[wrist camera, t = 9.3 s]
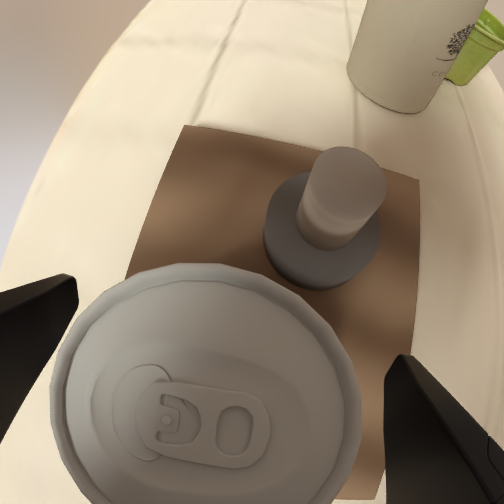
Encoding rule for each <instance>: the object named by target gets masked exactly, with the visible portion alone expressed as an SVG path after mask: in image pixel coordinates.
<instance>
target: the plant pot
mask: <svg viewBox="0 0 504 504" xmlns="http://www.w3.org/2000/svg"><path fill="white" fill-rule="evenodd" d="M503 49H504V25H503V24H502V22H501V21H500V20H499V19H497V18H496V17H495V16H494V15H493V14H492V13H490V12H489V11H488V10H487V9H485V8H484V9H483V11H482V13H481V15H480V16H479V18H478V20H477V22H476V24H475V26H474V27H473V29H472V31H471V33H470V35H469V36H468V38H467V40H466V42H465V44H464V45H463V47H462V49H461V50H460V52H459V54H458V56H457V57H456V59H455V61H454V62H453V64H452V66H451V68H450V69H449V71H448V73H447V74H446V76H445V78H447V79H449V80H451V81H452V82H453V83H454V84H456V85H466V84H467V83H468V82H469V81H470V80H471V79H472V78H473V77H474V76H475V75H476V74H477V73H478V72H479V71H480V70H481V69H482V68H483V67H484V66H485V65H486V64H487V63H488V62H489V61H490V59H492V58H493V57H494V56H495V55H496V54H497V53H498V52H499V51H502V50H503Z"/></svg>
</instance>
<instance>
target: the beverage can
mask: <svg viewBox="0 0 504 504" xmlns="http://www.w3.org/2000/svg"><path fill="white" fill-rule="evenodd" d="M50 417H51V426H52V430H53V433H54V437H55V440H56V443H57V447H58V450H59V453H60V456H61V459H62V461H63V463H64V465H65V466H66V468H67V470H68V471H69V473H70V475H71V476H72V478H73V480H74V481H75V483H76V485H77V486H78V488H79V489H80V491H81V492H82V493H83V495H84V496H85V497H86V498H87V499H88V500H89V501H90V502H91V503H92V504H331V503H332V502H333V500H334V499H335V497H336V496H337V494H338V493H339V491H340V490H341V489H342V487H343V486H344V484H345V483H346V481H347V480H348V478H349V476H350V474H351V471H352V468H353V465H354V462H355V459H356V456H357V453H358V450H359V446H360V443H361V440H362V397H361V393H360V389H359V385H358V382H357V378H356V374H355V371H354V367H353V363H352V360H351V359H350V357H349V355H348V354H347V352H346V350H345V349H344V347H343V346H342V344H341V342H340V341H339V339H338V337H337V336H336V334H335V332H334V331H333V329H332V327H331V326H330V325H329V324H328V323H327V322H326V321H325V320H324V319H323V318H322V317H321V316H320V315H319V314H318V313H317V312H316V311H315V310H314V309H313V308H312V307H311V306H310V305H309V304H307V303H306V302H305V301H304V300H303V299H302V298H301V297H300V296H299V295H297V294H295V293H294V292H292V291H290V290H288V289H286V288H285V287H283V286H281V285H279V284H277V283H276V282H274V281H272V280H270V279H268V278H267V277H265V276H263V275H261V274H257V273H253V272H250V271H246V270H242V269H239V268H235V267H231V266H228V265H224V264H220V263H176V264H172V265H167V266H163V267H159V268H155V269H151V270H147V271H143V272H139V273H137V274H135V275H133V276H131V277H129V278H128V279H126V280H124V281H122V282H120V283H119V284H117V285H115V286H113V287H111V288H110V289H108V290H106V291H104V292H103V293H102V294H101V295H100V296H99V297H98V298H97V299H96V300H95V301H94V302H93V303H92V304H91V305H90V306H89V307H88V308H87V309H86V310H85V311H84V312H83V313H82V314H81V315H80V316H79V317H78V318H77V319H76V321H75V322H74V324H73V326H72V327H71V329H70V331H69V333H68V334H67V336H66V338H65V340H64V342H63V343H62V345H61V347H60V349H59V351H58V354H57V358H56V362H55V366H54V370H53V374H52V378H51V383H50Z"/></svg>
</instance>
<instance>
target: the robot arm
mask: <svg viewBox="0 0 504 504" xmlns="http://www.w3.org/2000/svg"><path fill="white" fill-rule="evenodd" d="M78 305H79V298H78V290H77V282H76V279H75V278H74V277H73V276H70V275H67V274H59V275H55V276H52V277H49V278H46V279H42V280H39V281H36V282H33V283H29V284H26V285H23V286H20V287H17V288H13V289H10V290H7V291H4V292H1V293H0V444H1V442H2V440H3V438H4V436H5V434H6V432H7V430H8V428H9V427H10V425H11V423H12V421H13V419H14V417H15V416H16V414H17V412H18V410H19V409H20V407H21V405H22V403H23V402H24V400H25V398H26V396H27V395H28V393H29V391H30V390H31V388H32V386H33V385H34V383H35V381H36V380H37V378H38V376H39V375H40V373H41V372H42V370H43V368H44V367H45V365H46V364H47V362H48V361H49V359H50V357H51V356H52V354H53V353H54V351H55V349H56V348H57V346H58V344H59V342H60V340H61V338H62V336H63V335H64V333H65V331H66V329H67V327H68V325H69V323H70V321H71V319H72V318H73V316H74V314H75V312H76V310H77V308H78ZM383 435H384V450H385V469H386V504H504V451H503V449H502V448H501V447H500V446H499V445H498V444H497V443H496V442H495V441H494V440H493V439H492V438H491V436H488V433H487V432H486V431H485V430H484V429H483V428H482V427H481V426H480V425H479V424H478V423H477V421H476V420H475V419H474V418H473V417H472V416H471V415H470V414H469V413H468V412H467V411H466V410H465V409H464V408H463V407H462V406H461V405H460V404H459V402H458V401H457V400H456V399H455V398H454V397H453V396H452V395H451V394H450V393H449V392H448V391H447V390H446V389H445V388H444V387H443V386H442V385H441V384H440V383H439V382H438V381H437V380H436V379H435V378H434V377H433V376H432V375H431V374H430V373H429V372H428V370H427V369H426V368H425V367H424V366H423V365H422V364H421V363H420V362H419V361H418V360H417V359H416V358H415V357H414V356H412V355H407V354H399V355H398V356H397V357H396V358H395V360H394V362H393V363H392V365H391V367H390V368H389V370H388V371H387V373H386V375H385V378H384V410H383Z"/></svg>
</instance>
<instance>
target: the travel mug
mask: <svg viewBox="0 0 504 504" xmlns="http://www.w3.org/2000/svg"><path fill="white" fill-rule="evenodd" d="M487 1H488V0H368V1H367V4H366V7H365V10H364V14H363V17H362V20H361V23H360V26H359V30H358V33H357V36H356V39H355V42H354V45H353V48H352V51H351V55H350V58H349V61H348V64H347V74H348V76H349V78H350V80H351V82H352V83H353V84H354V86H355V87H356V88H357V89H358V90H359V91H360V92H361V93H363V94H364V95H365V96H366V97H368V98H369V99H371V100H372V101H374V102H376V103H377V104H379V105H381V106H383V107H386V108H388V109H391V110H394V111H397V112H402V113H417V112H420V111H422V110H424V109H425V108H426V107H427V105H428V104H429V102H430V100H431V99H432V97H433V96H434V94H435V92H436V91H437V89H438V87H439V86H440V84H441V83H442V81H443V79H444V78H445V76H446V74H447V73H448V71H449V69H450V68H451V66H452V64H453V62H454V61H455V59H456V57H457V56H458V54H459V52H460V50H461V49H462V47H463V45H464V44H465V42H466V40H467V38H468V36H469V35H470V33H471V31H472V29H473V27H474V26H475V24H476V22H477V20H478V18H479V16H480V15H481V13H482V11H483V9H484V7H485V5H486V3H487Z"/></svg>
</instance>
